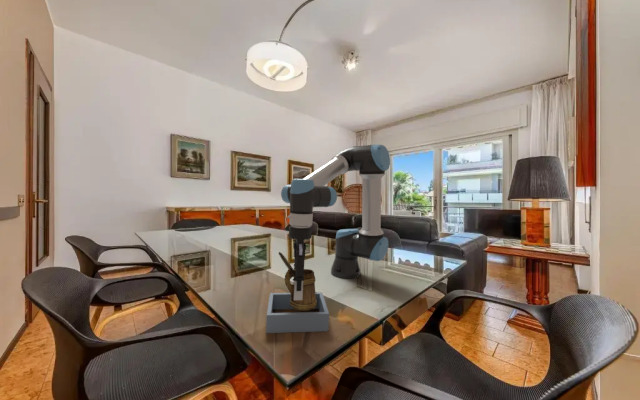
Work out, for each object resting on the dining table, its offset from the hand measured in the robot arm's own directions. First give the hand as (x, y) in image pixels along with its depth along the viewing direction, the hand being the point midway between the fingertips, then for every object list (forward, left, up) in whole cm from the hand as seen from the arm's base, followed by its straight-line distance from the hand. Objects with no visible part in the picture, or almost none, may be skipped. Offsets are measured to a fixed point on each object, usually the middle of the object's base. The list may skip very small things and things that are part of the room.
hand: (297, 294), depth 83 cm
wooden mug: (0, 0, -4) cm, 4 cm away
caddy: (0, 0, -8) cm, 8 cm away
